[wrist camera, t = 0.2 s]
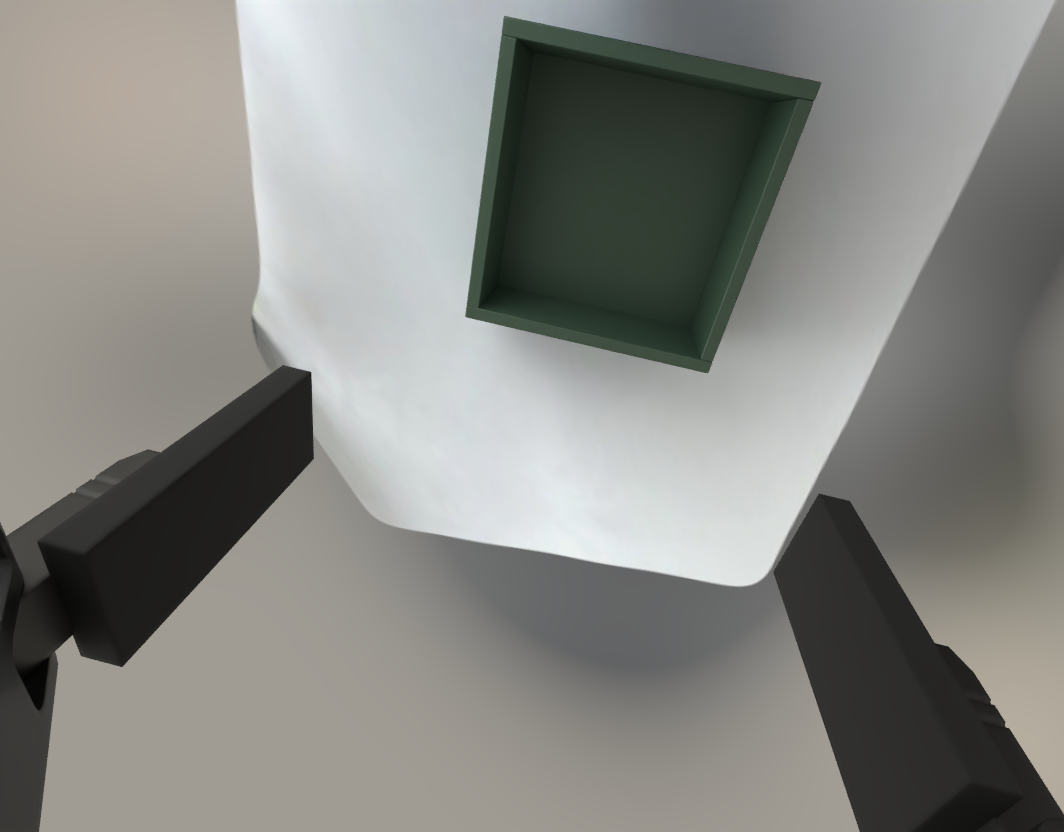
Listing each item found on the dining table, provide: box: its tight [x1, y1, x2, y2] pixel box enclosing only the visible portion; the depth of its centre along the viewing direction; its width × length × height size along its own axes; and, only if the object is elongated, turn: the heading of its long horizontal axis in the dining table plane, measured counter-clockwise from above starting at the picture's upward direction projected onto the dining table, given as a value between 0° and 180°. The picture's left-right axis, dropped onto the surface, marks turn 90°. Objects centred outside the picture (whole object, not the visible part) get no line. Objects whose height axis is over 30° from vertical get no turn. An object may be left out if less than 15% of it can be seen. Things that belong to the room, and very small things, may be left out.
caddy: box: [465, 16, 821, 373], centre depth 33 cm, size 16×16×7 cm
